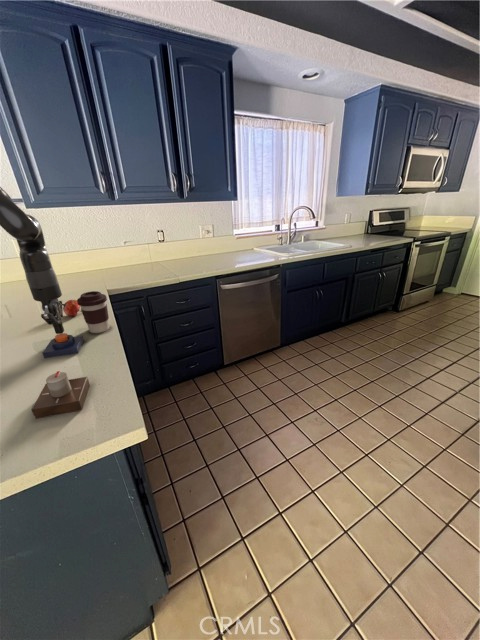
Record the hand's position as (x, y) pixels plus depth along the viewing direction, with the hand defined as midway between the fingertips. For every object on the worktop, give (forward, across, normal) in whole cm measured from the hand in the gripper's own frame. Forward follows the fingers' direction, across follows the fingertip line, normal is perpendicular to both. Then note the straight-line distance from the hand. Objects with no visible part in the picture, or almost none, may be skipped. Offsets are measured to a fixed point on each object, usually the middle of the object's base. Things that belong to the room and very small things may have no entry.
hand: (60, 332), depth 89 cm
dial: (+3, +29, +7) cm, 30 cm away
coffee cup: (+7, -13, +9) cm, 17 cm away
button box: (+6, 0, 0) cm, 7 cm away
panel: (+6, +29, +7) cm, 31 cm away
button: (+3, 0, 0) cm, 3 cm away
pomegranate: (+7, -32, -4) cm, 33 cm away
